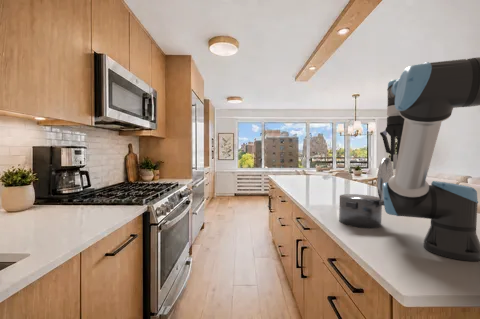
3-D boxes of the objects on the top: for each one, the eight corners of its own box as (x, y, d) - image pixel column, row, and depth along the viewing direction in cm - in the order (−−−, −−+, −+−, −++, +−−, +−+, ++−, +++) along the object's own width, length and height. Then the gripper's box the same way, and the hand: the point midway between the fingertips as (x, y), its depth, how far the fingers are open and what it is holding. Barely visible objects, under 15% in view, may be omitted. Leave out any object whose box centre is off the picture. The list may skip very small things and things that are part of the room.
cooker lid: (376, 202, 103) (385, 204, 100) (378, 157, 102) (387, 158, 99) (388, 197, 116) (396, 198, 114) (389, 157, 116) (398, 157, 113)
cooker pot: (377, 233, 100) (378, 204, 100) (330, 223, 114) (330, 197, 114) (391, 222, 117) (392, 197, 117) (349, 214, 131) (350, 192, 131)
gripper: (416, 115, 106) (414, 169, 107) (383, 117, 115) (382, 167, 116) (412, 113, 101) (411, 170, 102) (378, 116, 110) (377, 168, 111)
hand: (395, 169), depth 109 cm, fingers closed
